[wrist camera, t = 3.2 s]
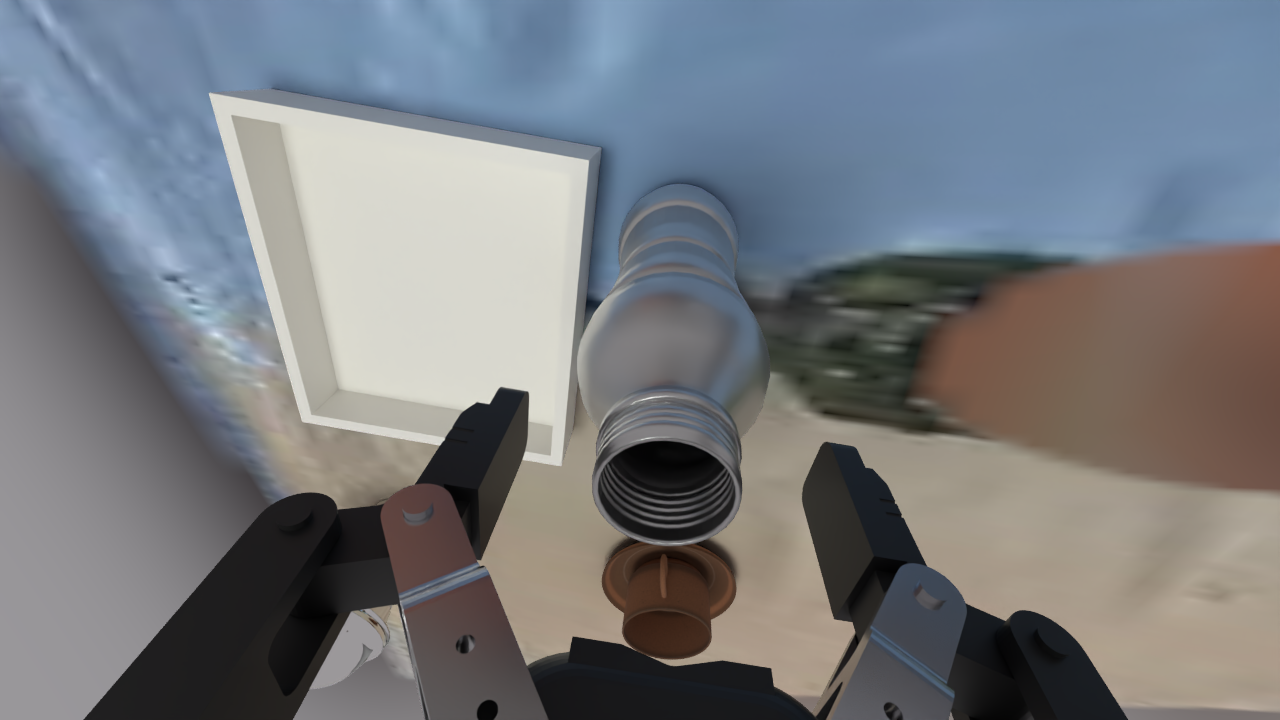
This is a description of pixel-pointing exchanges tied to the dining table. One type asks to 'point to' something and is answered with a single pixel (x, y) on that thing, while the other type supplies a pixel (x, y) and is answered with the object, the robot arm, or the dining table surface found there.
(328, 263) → the tray
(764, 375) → the plastic bottle
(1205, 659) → the dining table surface
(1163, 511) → the dining table surface
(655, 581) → the cup and saucer
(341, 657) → the cup with straw
